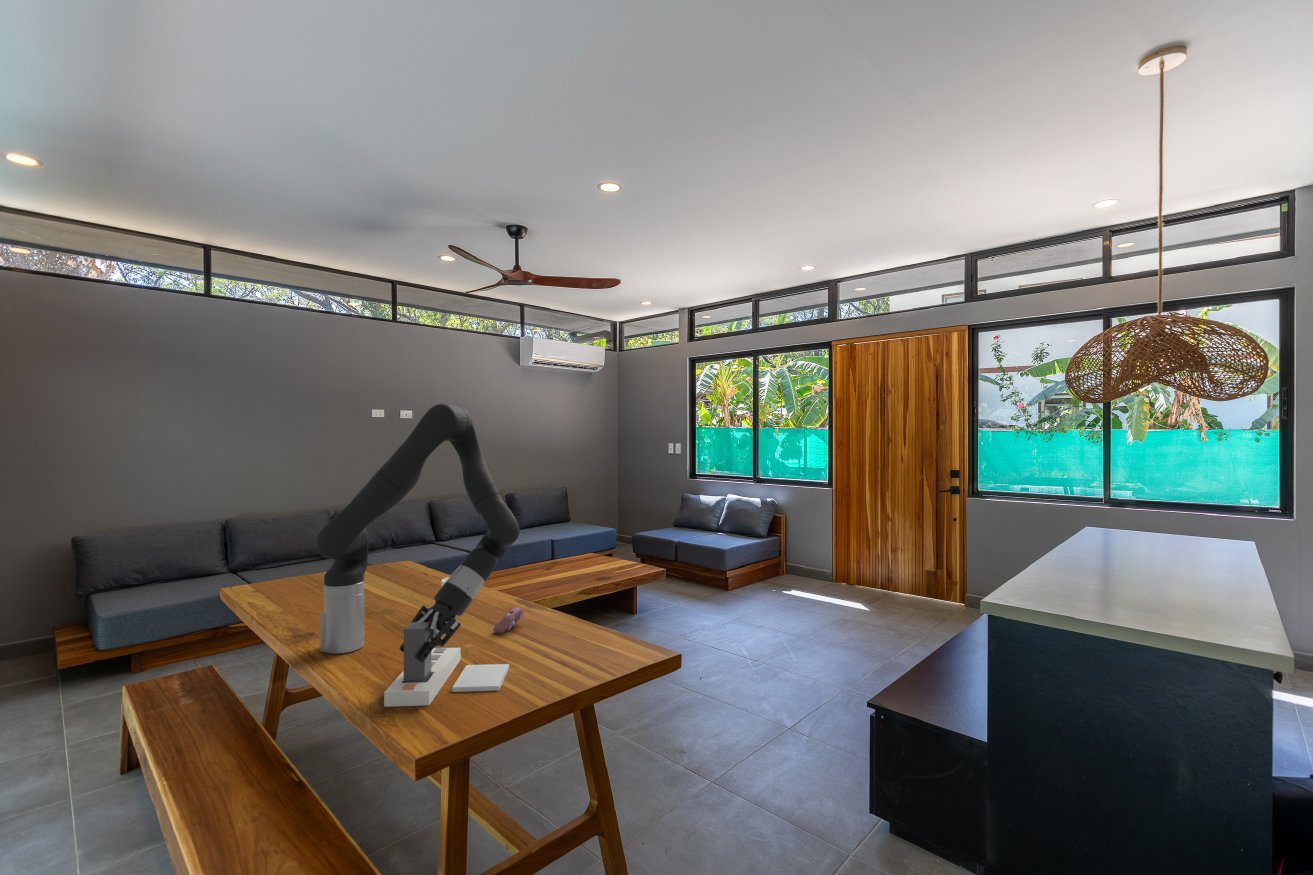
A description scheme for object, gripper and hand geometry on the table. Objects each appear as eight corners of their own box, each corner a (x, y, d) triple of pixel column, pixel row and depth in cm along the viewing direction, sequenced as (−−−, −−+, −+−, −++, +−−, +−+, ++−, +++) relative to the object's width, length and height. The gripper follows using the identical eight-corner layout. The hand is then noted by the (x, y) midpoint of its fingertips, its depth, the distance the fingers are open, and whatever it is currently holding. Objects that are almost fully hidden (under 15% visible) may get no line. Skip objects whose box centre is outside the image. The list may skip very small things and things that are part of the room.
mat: (452, 691, 125) (452, 687, 125) (466, 669, 137) (466, 664, 137) (498, 690, 126) (498, 685, 126) (509, 668, 138) (509, 663, 138)
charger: (403, 684, 123) (403, 629, 123) (410, 675, 128) (411, 622, 128) (424, 684, 124) (424, 628, 123) (431, 675, 128) (431, 621, 128)
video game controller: (504, 640, 161) (514, 618, 160) (490, 631, 162) (501, 610, 161) (519, 628, 170) (529, 607, 170) (506, 620, 171) (516, 600, 171)
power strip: (384, 706, 118) (384, 690, 118) (423, 660, 142) (423, 646, 142) (429, 705, 119) (429, 688, 119) (460, 659, 143) (460, 645, 143)
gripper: (433, 575, 136) (382, 638, 127) (467, 586, 127) (414, 655, 118) (453, 593, 140) (405, 655, 131) (487, 605, 131) (438, 673, 122)
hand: (410, 655), depth 124 cm, fingers closed on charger, 6 cm apart
